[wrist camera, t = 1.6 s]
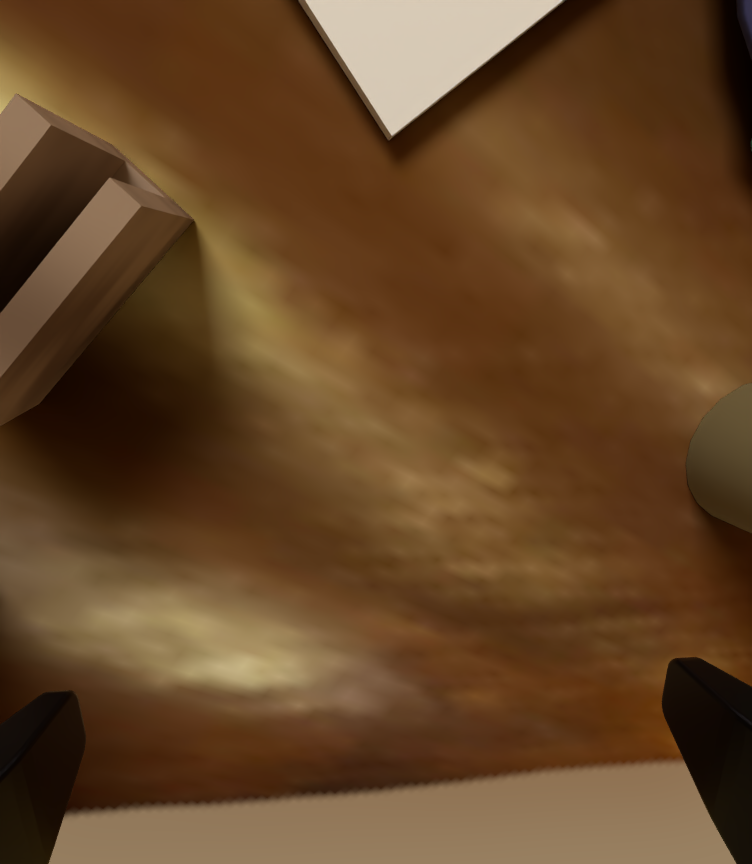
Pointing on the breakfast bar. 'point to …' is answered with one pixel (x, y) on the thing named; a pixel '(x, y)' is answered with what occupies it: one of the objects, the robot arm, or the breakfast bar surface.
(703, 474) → the cork
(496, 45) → the plate
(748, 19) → the cutlery set
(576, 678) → the breakfast bar surface
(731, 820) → the robot arm
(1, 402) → the napkin holder
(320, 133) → the breakfast bar surface
